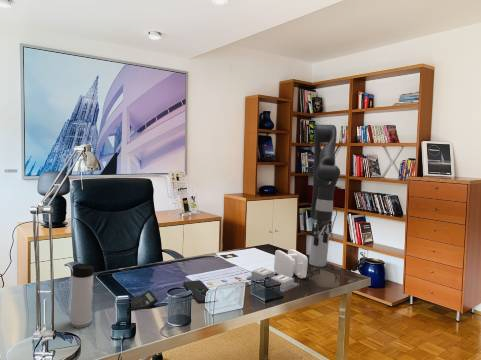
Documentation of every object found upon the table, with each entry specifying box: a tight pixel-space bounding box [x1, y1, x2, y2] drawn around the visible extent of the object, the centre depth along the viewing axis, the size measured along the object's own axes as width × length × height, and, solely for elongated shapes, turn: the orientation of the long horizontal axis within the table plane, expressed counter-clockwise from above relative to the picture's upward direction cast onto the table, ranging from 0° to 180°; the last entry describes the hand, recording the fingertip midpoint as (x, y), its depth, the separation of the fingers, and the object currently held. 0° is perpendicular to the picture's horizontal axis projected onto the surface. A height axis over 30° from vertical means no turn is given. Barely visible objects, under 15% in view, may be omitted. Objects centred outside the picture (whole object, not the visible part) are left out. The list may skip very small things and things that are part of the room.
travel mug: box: [70, 263, 94, 329], centre depth 121 cm, size 6×7×20 cm
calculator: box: [129, 289, 159, 312], centre depth 140 cm, size 9×12×3 cm
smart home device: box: [182, 279, 210, 305], centre depth 155 cm, size 8×2×20 cm
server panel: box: [246, 267, 300, 294], centre depth 172 cm, size 13×20×4 cm, turn 50°
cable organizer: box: [273, 248, 309, 279], centre depth 182 cm, size 15×11×12 cm
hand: (320, 244), depth 171 cm, fingers open, 8 cm apart
